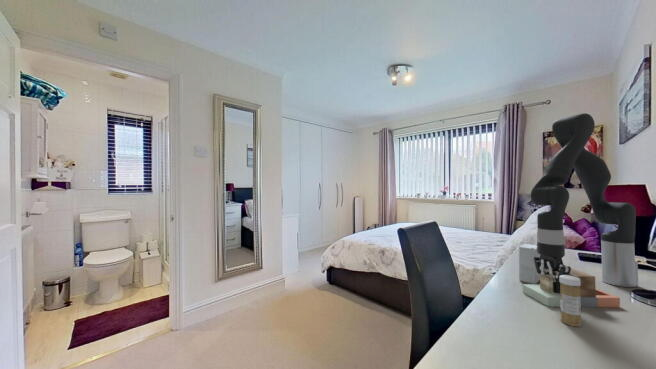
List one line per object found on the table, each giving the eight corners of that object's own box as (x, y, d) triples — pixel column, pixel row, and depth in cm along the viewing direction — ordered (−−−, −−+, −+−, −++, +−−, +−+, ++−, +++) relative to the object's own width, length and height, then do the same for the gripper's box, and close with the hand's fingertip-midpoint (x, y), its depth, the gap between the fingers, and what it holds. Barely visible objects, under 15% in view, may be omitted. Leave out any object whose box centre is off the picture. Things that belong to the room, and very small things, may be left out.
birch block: (572, 288, 95) (572, 274, 95) (583, 292, 91) (582, 278, 91) (540, 288, 95) (539, 274, 95) (548, 292, 91) (548, 278, 91)
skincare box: (524, 276, 117) (523, 243, 117) (541, 280, 112) (540, 245, 113) (518, 281, 112) (518, 246, 112) (536, 284, 107) (535, 248, 107)
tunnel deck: (585, 292, 98) (584, 266, 99) (619, 307, 86) (619, 277, 87) (522, 292, 99) (522, 266, 100) (547, 306, 87) (547, 276, 88)
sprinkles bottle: (565, 318, 80) (563, 273, 80) (584, 324, 75) (583, 277, 76) (557, 321, 78) (556, 275, 78) (577, 328, 73) (575, 280, 74)
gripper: (579, 245, 86) (581, 298, 86) (545, 238, 101) (546, 283, 100) (556, 245, 87) (557, 298, 86) (525, 238, 101) (526, 282, 101)
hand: (551, 289), depth 93 cm, fingers closed on birch block, 4 cm apart
